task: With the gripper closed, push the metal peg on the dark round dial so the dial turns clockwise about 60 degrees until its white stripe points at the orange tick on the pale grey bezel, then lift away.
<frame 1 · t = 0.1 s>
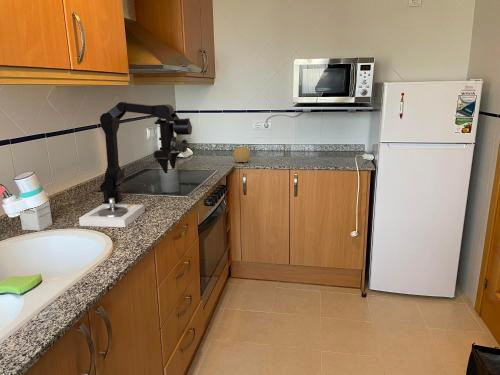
hand: (169, 170, 164), 15 cm above the worktop, tool pointing down, fingers open, 9 cm apart
bezel: (113, 218, 149), on the worktop
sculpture: (241, 162, 259), on the worktop
supplement box: (38, 227, 141), on the worktop
dial: (112, 208, 148), point 4 cm above the worktop, hinge at 0.0°
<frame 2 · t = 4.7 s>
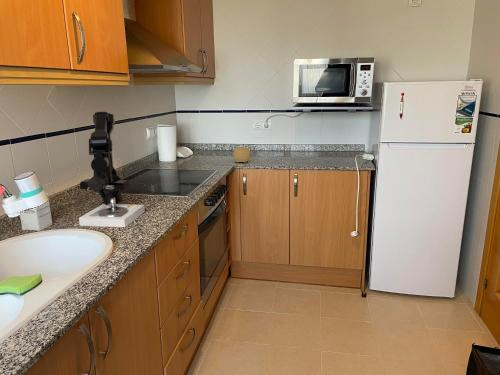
hand: (107, 205, 153), 4 cm above the worktop, tool pointing down, fingers closed
dial: (112, 208, 148), point 4 cm above the worktop, hinge at -4.4°, touching gripper
everything else where it was.
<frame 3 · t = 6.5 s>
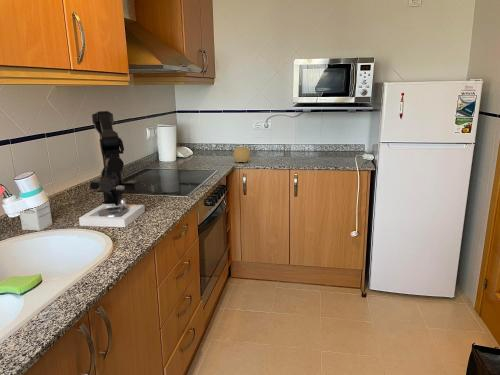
hand: (117, 205, 152), 4 cm above the worktop, tool pointing down, fingers closed
dial: (112, 208, 148), point 4 cm above the worktop, hinge at -65.2°, touching gripper
everything else where it was.
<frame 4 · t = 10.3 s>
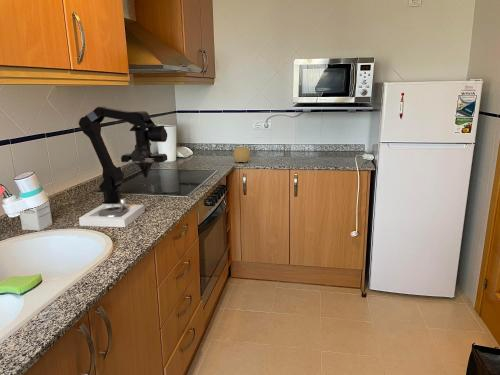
hand: (146, 177, 164), 12 cm above the worktop, tool pointing down, fingers closed
dial: (112, 208, 148), point 4 cm above the worktop, hinge at -65.6°
everything else where it was.
at the end: dial at -66° (first picture: +0°) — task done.
